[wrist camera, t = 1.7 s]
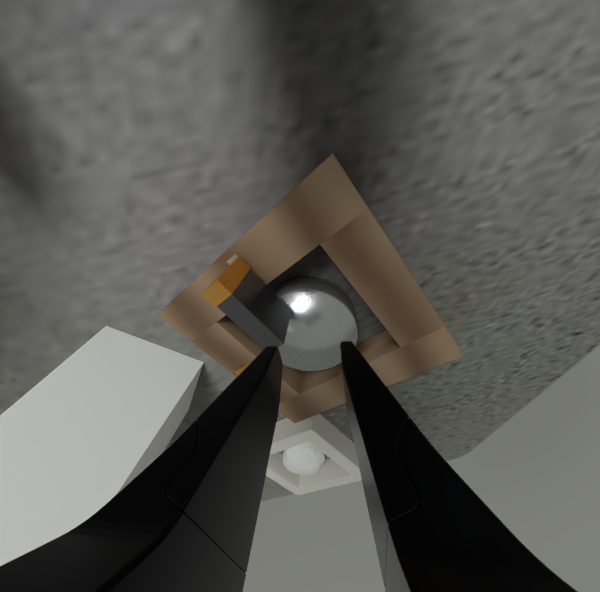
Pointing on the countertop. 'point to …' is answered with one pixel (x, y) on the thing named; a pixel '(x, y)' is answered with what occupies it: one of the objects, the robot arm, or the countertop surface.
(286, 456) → the garlic
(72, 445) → the milk
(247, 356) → the surround
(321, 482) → the frame
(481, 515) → the robot arm
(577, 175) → the countertop surface
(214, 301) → the dial
